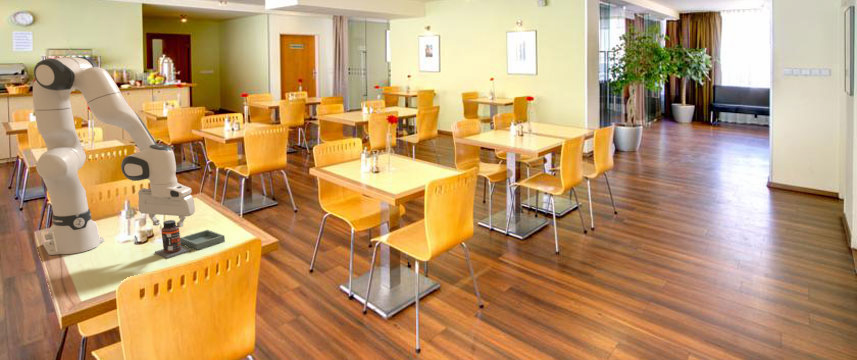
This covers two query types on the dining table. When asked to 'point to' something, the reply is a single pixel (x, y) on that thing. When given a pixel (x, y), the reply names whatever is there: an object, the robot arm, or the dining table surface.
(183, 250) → the mat
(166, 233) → the supplement bottle
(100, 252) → the dining table surface
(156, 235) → the dining table surface
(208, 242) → the tray
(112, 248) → the dining table surface
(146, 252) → the dining table surface
